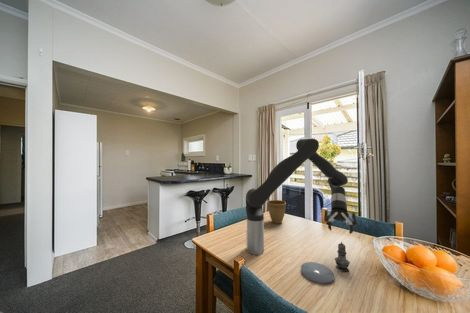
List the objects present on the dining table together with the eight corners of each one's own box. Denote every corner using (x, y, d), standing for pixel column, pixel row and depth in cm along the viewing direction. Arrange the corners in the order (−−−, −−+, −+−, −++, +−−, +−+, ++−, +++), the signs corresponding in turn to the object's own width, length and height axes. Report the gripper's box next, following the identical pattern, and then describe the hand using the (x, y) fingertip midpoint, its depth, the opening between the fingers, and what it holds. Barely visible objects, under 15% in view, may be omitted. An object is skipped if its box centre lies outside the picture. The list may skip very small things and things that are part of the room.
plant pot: (271, 217, 148) (271, 199, 148) (289, 221, 139) (288, 201, 140) (264, 223, 136) (263, 202, 136) (282, 227, 127) (282, 205, 128)
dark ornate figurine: (344, 274, 74) (343, 246, 74) (331, 266, 79) (331, 240, 80) (353, 270, 76) (352, 243, 77) (340, 263, 82) (339, 238, 82)
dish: (308, 284, 68) (308, 281, 68) (296, 264, 81) (296, 262, 81) (341, 283, 68) (341, 280, 68) (323, 264, 81) (323, 261, 81)
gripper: (324, 198, 97) (324, 225, 87) (354, 200, 91) (358, 230, 80) (324, 205, 102) (324, 232, 92) (353, 208, 95) (357, 237, 85)
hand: (340, 231), depth 86 cm, fingers open, 8 cm apart
